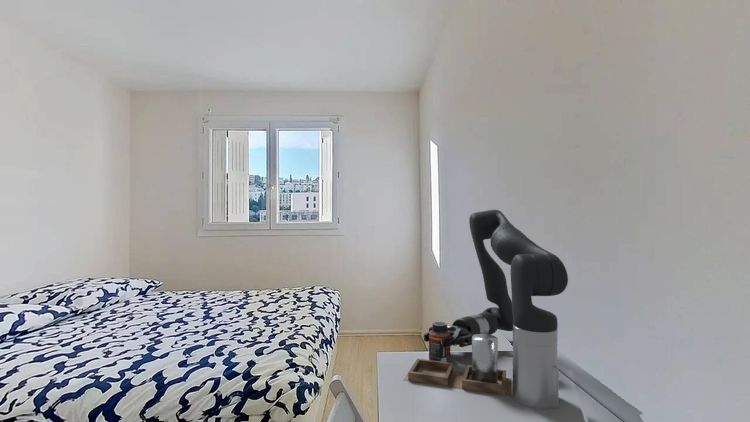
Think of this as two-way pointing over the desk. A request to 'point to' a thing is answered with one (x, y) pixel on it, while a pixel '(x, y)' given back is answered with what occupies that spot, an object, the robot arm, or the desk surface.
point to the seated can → (485, 358)
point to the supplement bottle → (439, 343)
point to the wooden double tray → (456, 377)
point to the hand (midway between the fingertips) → (433, 340)
